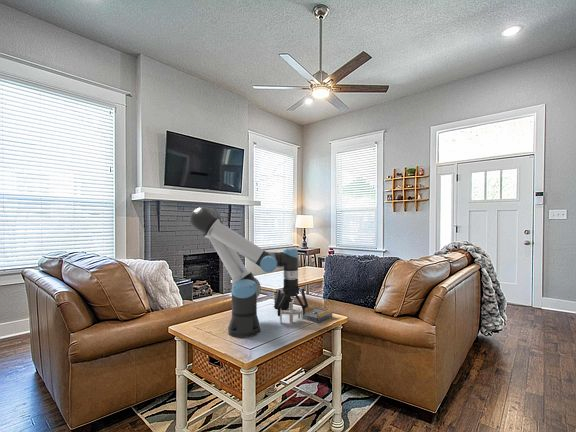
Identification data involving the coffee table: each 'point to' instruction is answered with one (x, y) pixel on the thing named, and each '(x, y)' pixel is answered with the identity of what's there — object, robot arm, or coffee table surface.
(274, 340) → the coffee table surface
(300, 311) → the pipe connector
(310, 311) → the block
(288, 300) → the speaker
